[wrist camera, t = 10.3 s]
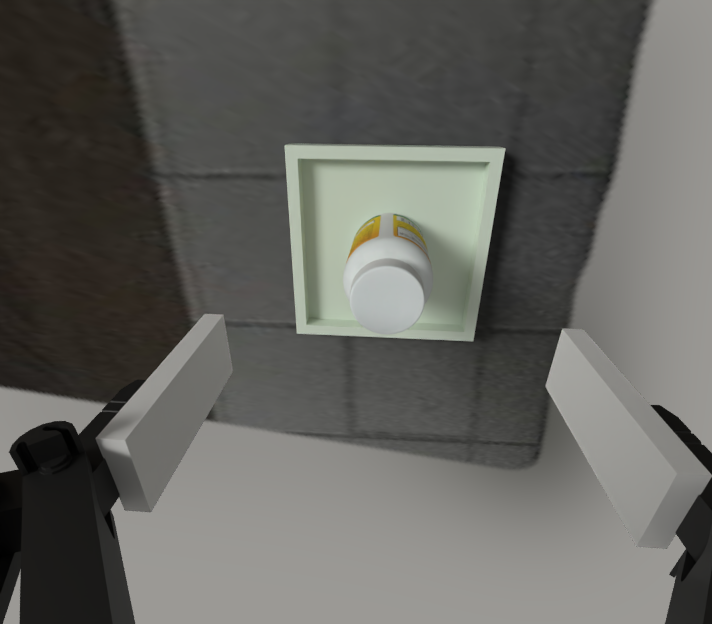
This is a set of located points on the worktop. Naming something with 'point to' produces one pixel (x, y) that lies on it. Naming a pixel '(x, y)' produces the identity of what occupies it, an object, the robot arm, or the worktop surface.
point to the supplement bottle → (388, 274)
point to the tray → (391, 195)
